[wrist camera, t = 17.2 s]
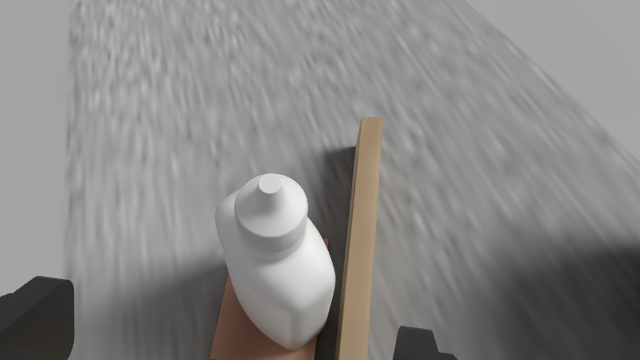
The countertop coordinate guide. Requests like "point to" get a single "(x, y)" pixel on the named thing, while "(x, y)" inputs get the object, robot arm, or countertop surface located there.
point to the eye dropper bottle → (276, 259)
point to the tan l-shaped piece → (354, 315)
